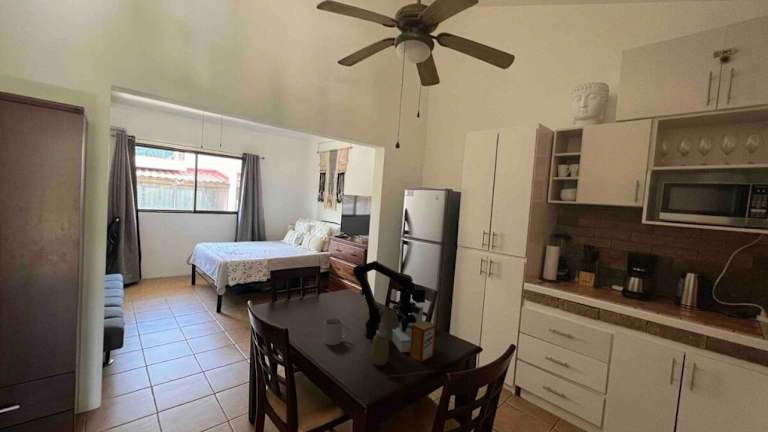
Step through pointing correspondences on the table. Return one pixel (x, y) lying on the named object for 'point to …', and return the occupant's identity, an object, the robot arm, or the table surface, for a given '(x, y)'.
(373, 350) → the squeeze bottle
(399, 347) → the tub
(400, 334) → the lid
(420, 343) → the baking soda box
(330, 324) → the mug
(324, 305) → the table surface
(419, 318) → the supplement box
